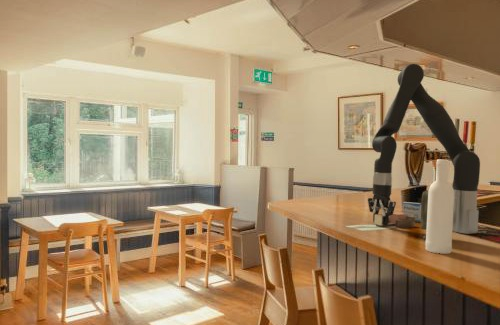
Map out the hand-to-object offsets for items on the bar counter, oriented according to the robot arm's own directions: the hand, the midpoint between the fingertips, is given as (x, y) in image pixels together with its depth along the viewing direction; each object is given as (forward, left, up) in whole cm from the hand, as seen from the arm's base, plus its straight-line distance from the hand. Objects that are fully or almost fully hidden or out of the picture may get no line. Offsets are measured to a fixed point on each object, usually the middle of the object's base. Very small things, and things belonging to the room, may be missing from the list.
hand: (380, 223), depth 178 cm
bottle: (-38, +13, -2) cm, 40 cm away
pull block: (0, -6, -1) cm, 6 cm away
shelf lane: (0, 0, -2) cm, 2 cm away
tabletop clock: (-25, -3, -2) cm, 25 cm away
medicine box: (+7, -27, -2) cm, 28 cm away
